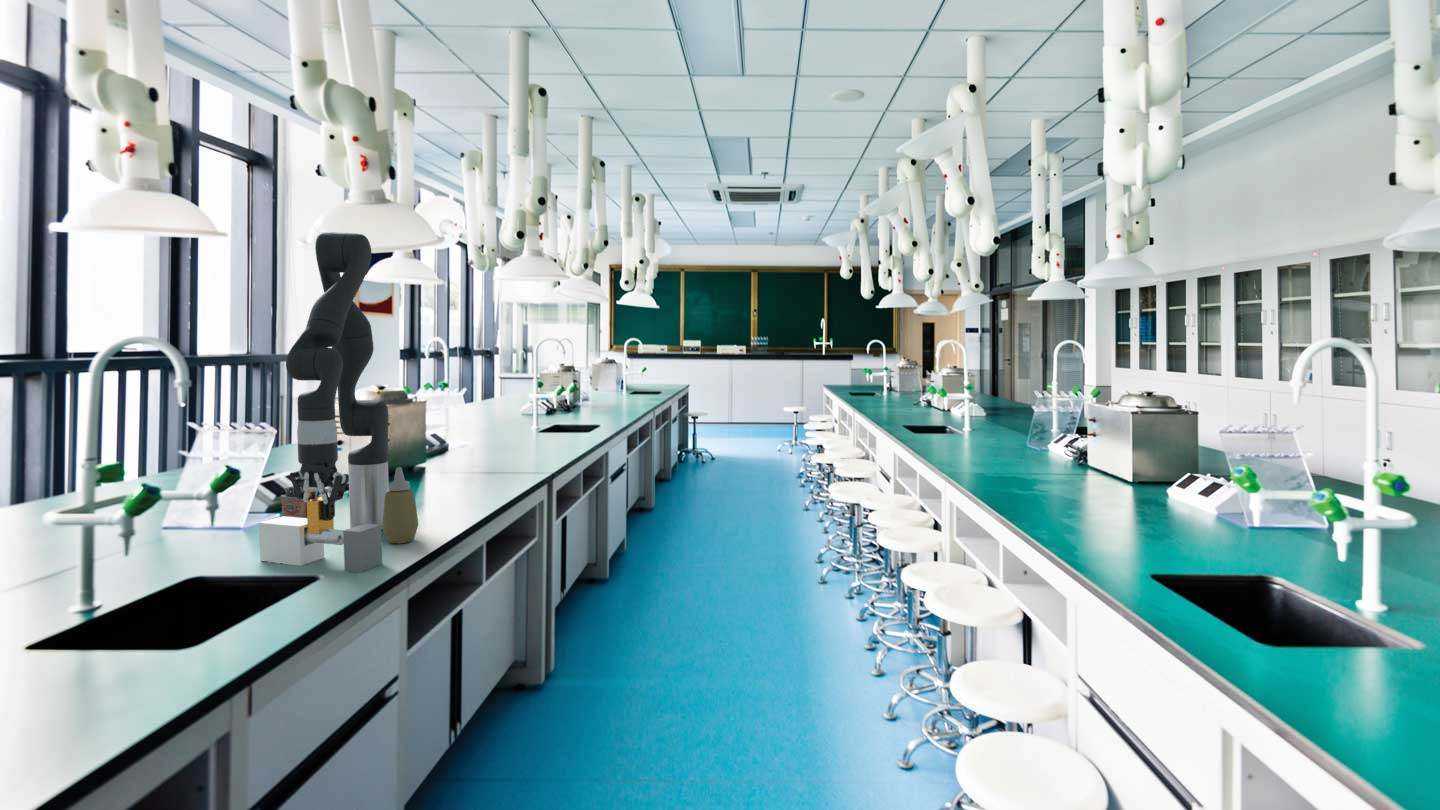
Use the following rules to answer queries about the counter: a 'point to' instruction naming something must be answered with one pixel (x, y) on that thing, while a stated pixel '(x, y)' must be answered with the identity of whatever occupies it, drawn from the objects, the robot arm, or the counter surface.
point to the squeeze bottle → (399, 511)
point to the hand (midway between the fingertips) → (320, 518)
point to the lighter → (293, 504)
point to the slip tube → (320, 525)
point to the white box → (287, 542)
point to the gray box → (362, 547)
